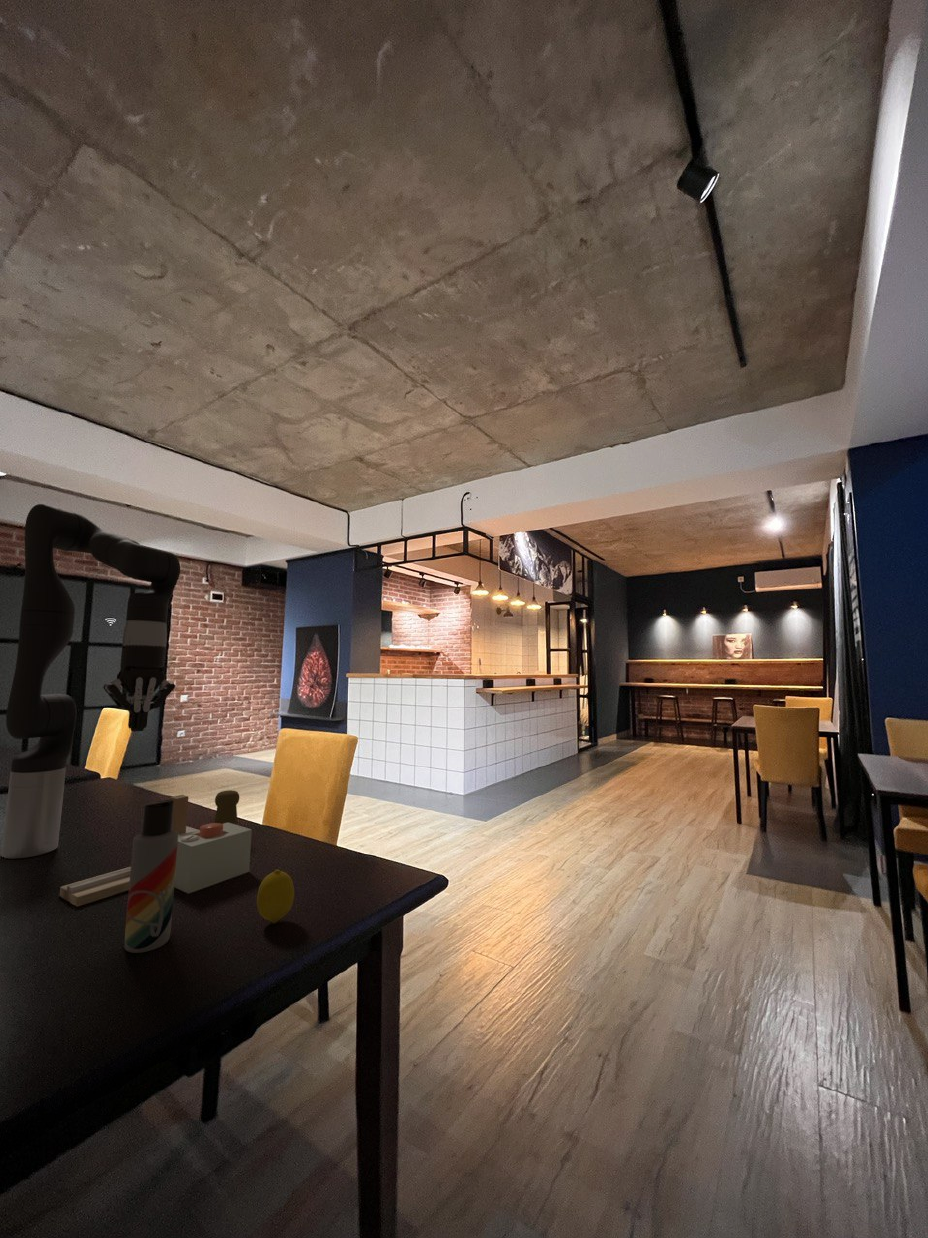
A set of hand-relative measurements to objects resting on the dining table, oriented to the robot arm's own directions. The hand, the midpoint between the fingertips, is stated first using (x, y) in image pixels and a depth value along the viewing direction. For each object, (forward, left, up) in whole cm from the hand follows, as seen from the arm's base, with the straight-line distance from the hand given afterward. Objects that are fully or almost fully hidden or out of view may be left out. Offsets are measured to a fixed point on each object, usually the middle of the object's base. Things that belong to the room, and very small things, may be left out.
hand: (136, 730), depth 99 cm
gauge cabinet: (+15, +8, -27) cm, 32 cm away
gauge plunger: (+15, +8, -24) cm, 29 cm away
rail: (+6, +2, -27) cm, 28 cm away
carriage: (+6, +7, -24) cm, 26 cm away
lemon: (+40, +4, -27) cm, 49 cm away
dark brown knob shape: (-2, +22, -27) cm, 35 cm away
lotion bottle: (+30, -10, -27) cm, 42 cm away
